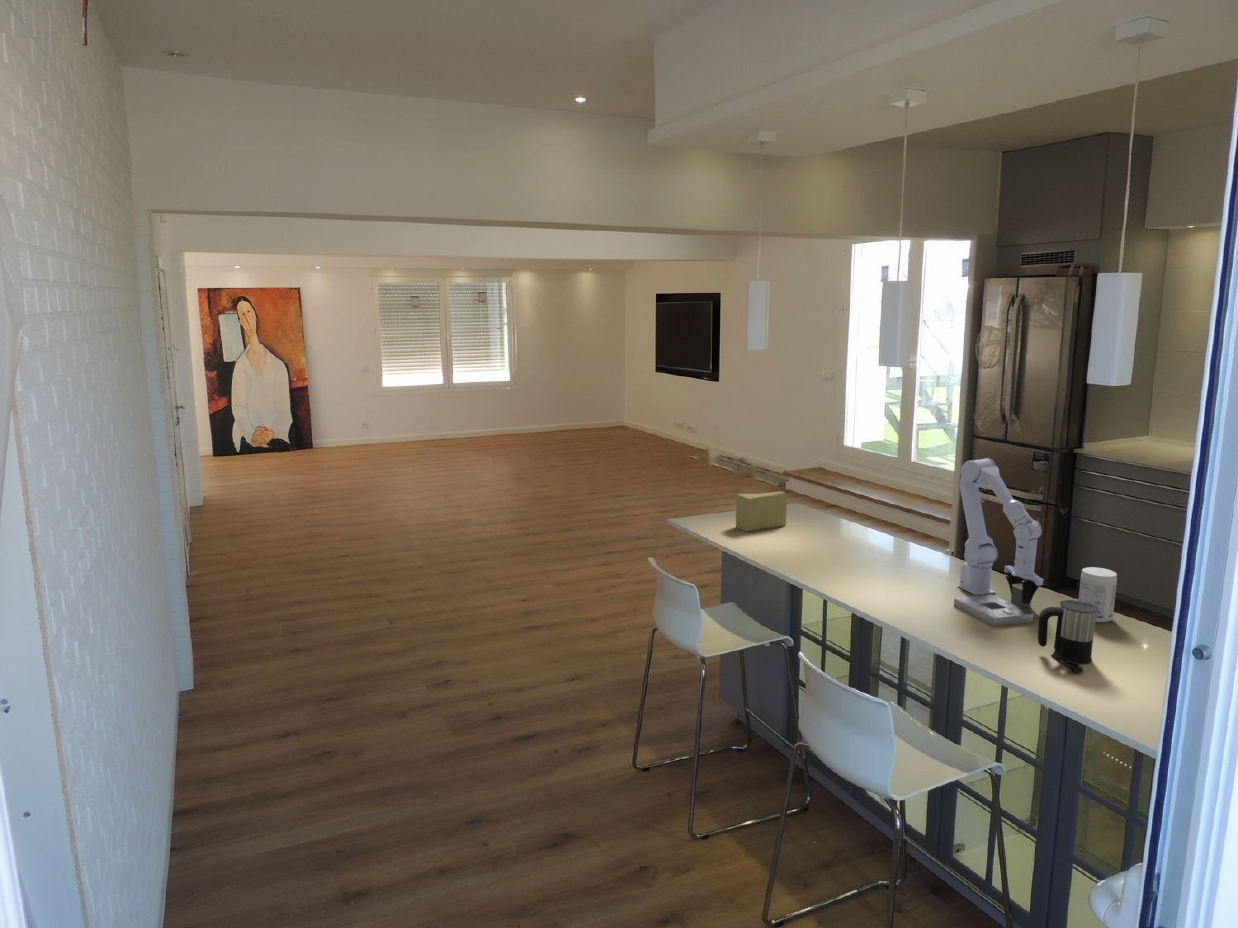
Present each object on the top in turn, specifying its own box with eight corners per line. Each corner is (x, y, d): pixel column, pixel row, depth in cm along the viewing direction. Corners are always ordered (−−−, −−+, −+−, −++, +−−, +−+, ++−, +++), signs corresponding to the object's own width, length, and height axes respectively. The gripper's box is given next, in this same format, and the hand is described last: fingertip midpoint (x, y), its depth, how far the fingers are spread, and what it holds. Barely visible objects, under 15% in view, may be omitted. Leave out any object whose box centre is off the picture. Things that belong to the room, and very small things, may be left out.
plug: (1010, 603, 267) (1012, 584, 266) (1021, 602, 268) (1023, 583, 267) (1019, 607, 263) (1021, 588, 262) (1030, 606, 264) (1032, 587, 263)
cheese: (779, 522, 366) (780, 489, 363) (791, 528, 357) (793, 493, 354) (734, 527, 358) (735, 492, 355) (745, 532, 349) (747, 497, 346)
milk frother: (1080, 650, 231) (1085, 599, 228) (1115, 675, 215) (1121, 620, 213) (1029, 650, 230) (1034, 599, 228) (1060, 675, 215) (1066, 620, 212)
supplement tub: (1095, 610, 261) (1100, 565, 258) (1120, 621, 252) (1125, 575, 249) (1069, 613, 259) (1074, 567, 256) (1093, 624, 250) (1099, 577, 247)
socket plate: (953, 605, 265) (954, 596, 264) (990, 601, 269) (991, 592, 268) (993, 626, 248) (994, 616, 247) (1032, 621, 252) (1033, 611, 251)
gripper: (998, 553, 269) (994, 593, 271) (1031, 566, 255) (1027, 609, 258) (1016, 551, 271) (1012, 591, 273) (1050, 564, 257) (1046, 607, 260)
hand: (1020, 600), depth 266 cm, fingers open, 5 cm apart
